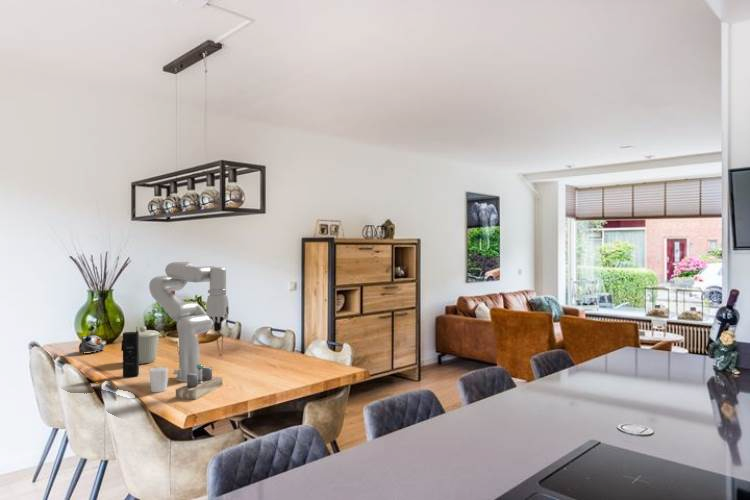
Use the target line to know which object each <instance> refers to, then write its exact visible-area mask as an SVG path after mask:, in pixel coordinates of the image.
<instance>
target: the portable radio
mask: <svg viewBox="0 0 750 500" xmlns="http://www.w3.org/2000/svg"><path fill="white" fill-rule="evenodd" d="M136 329H138V327H136ZM135 331H136V332H134V331H124V332H123V333H122V340H121V350H120V351H121V352H122V377H123V378H134V377H135V376H136V377H138V376H139V375H140V364H139V332H138V331H139V330H135Z"/></svg>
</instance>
